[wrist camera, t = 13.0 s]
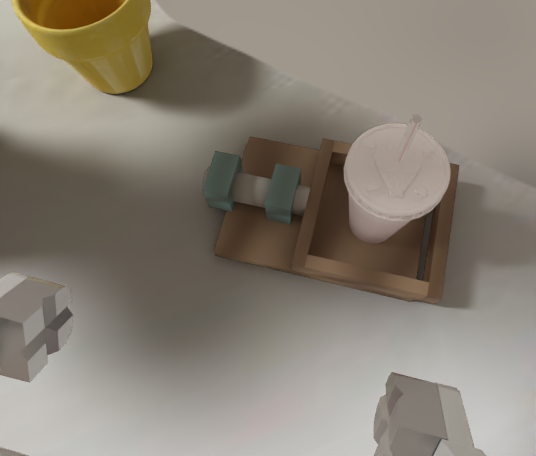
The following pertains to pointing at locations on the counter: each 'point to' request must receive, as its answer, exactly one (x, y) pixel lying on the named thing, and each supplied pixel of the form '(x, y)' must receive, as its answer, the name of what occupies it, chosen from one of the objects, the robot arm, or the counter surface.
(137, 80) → the plant pot
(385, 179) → the smoothie
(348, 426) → the counter surface
